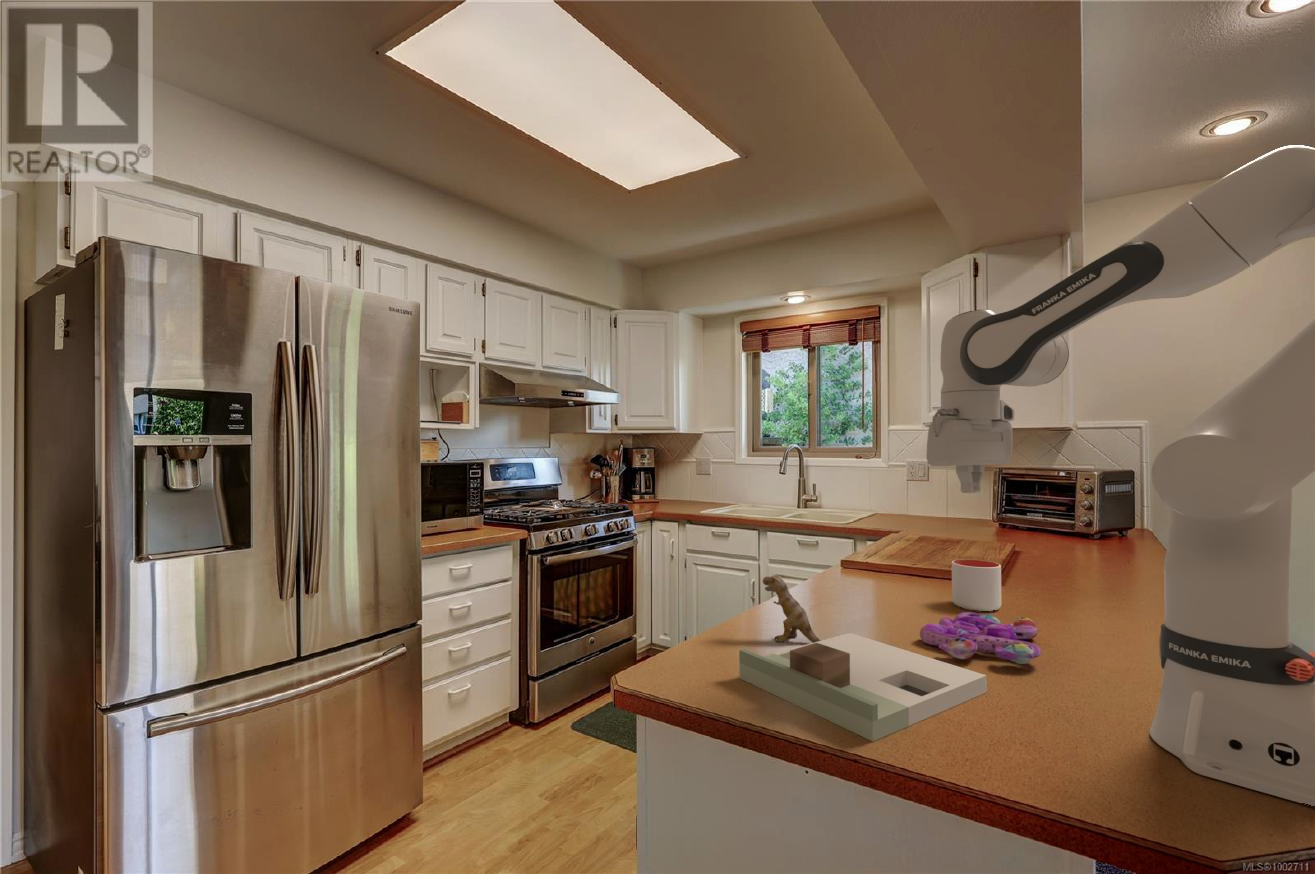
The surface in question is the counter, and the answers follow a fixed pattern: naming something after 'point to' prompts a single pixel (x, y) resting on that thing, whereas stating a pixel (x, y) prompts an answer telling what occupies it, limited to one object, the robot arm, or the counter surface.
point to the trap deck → (867, 685)
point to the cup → (976, 584)
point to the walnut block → (822, 663)
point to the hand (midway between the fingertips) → (970, 492)
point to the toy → (789, 611)
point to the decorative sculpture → (983, 637)
